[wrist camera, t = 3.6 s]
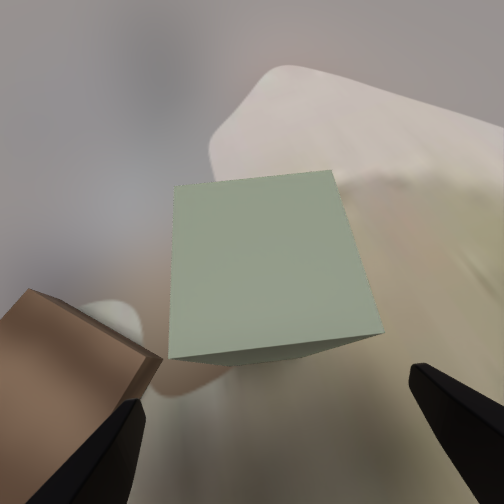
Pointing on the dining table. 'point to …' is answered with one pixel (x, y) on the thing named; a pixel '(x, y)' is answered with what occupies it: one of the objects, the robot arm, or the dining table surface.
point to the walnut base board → (58, 387)
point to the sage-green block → (265, 271)
